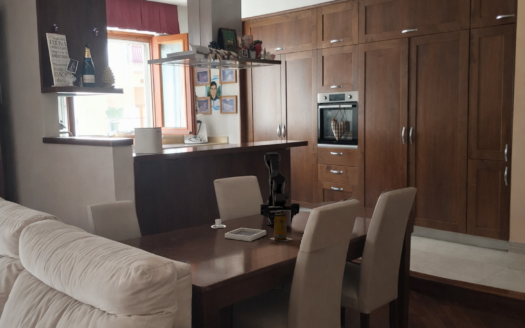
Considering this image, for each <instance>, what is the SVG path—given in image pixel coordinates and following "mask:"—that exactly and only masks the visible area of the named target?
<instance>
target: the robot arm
mask: <svg viewBox="0 0 525 328" xmlns="http://www.w3.org/2000/svg"><path fill="white" fill-rule="evenodd" d="M263 160H264V162H265V166H266V167H267V169H268V177H269V178H268V185H269V196H268V198H267V202H266V203H261V204H260V205H259V207H260V208H259V213H260V216H263V217H265V218H266V219H267V220H268V223H266V225H267V226H273V227H274V219H275V214H276V213H284V212H286V211H287V212H289V211H290V213H289V214H290V215H289V217H290V218H289V223H290V225H291V224H292V223H293V219H294V217H295V216H297V214H300V208H301V205H300V203H298V202H291V203H290V205H287V201H289V200H290V192H285V191H284V190H285V187H286V186H285V185H286V184H287V183H288V182H287V179H286V177H285V176H284V174H283V172H281V171H280V161H281V153H278V152H275V151H274V152H266V154H264V159H263ZM286 205H287V206H286Z"/></svg>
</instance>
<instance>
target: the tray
mask: <svg viewBox="0 0 525 328" xmlns="http://www.w3.org/2000/svg"><path fill="white" fill-rule="evenodd" d="M266 235H267V230H265V229H255V228H247V227H240V228H236V229H233V230H230V231H228V232H225V233H224V238H225V239H230V240H237V241H244V242H252V241H254V240H257V239H260V238H262V237H265V236H266Z"/></svg>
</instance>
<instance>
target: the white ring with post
mask: <svg viewBox="0 0 525 328" xmlns="http://www.w3.org/2000/svg"><path fill="white" fill-rule="evenodd" d="M214 221H215V223H214V224H213V225H211V226H210V227H211V228H212V229H222V228H226V227H227V226H226V225H225V224H222V219H221V218H216V219H215V220H214Z"/></svg>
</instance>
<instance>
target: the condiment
mask: <svg viewBox="0 0 525 328" xmlns="http://www.w3.org/2000/svg"><path fill="white" fill-rule="evenodd" d="M287 227H288V223H287V214H286V213H284V212H283V213H276V214H275V219H274V226H273V237H271V238H269V239H270V240H273V241H278V242H288V241H291V240H293V238H290V237H288V233H287V232H288V231H287V230H288V228H287Z"/></svg>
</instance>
